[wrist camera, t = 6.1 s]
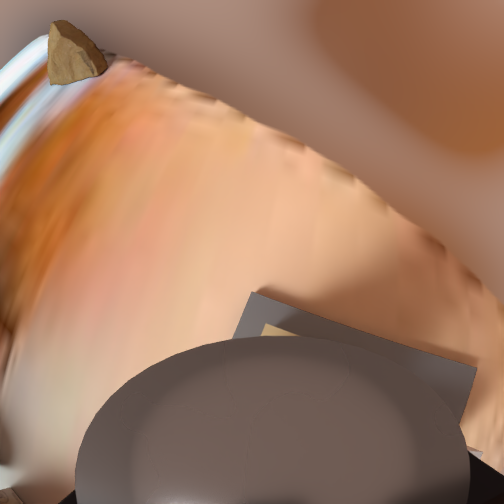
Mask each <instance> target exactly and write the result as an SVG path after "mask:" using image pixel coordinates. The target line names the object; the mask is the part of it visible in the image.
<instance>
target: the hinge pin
mask: <svg viewBox="0 0 504 504" xmlns="http://www.w3.org/2000/svg"><path fill="white" fill-rule="evenodd" d="M469 486H470V461H469V455H468V450H467V446H466V442H465V438H464V436H463V433H462V431H461V429H460V426H459V424H458V422H457V420H456V418H455V417H454V415H453V413H452V412H451V410H450V409H449V407H448V406H447V405H446V403H445V402H444V400H443V399H442V398H441V397H440V396H439V395H438V394H437V393H436V392H435V391H434V390H433V389H432V388H431V387H430V386H429V385H428V384H427V383H425V382H424V381H423V380H422V379H420V378H419V377H418V376H416V375H415V374H414V373H412V372H411V371H410V370H408V369H406V368H404V367H403V366H401V365H399V364H397V363H395V362H393V361H391V360H390V359H388V358H386V357H384V356H381V355H378V354H376V353H373V352H370V351H368V350H365V349H362V348H360V347H357V346H352V345H348V344H344V343H340V342H336V341H332V340H326V339H318V338H309V337H301V336H257V337H247V338H236V339H230V340H225V341H221V342H216V343H211V344H206V345H202V346H199V347H196V348H193V349H190V350H187V351H184V352H181V353H178V354H175V355H173V356H171V357H169V358H167V359H165V360H163V361H161V362H159V363H156V364H154V365H152V366H150V367H149V368H147V369H145V370H144V371H142V372H141V373H139V374H138V375H136V376H135V377H133V378H132V379H130V380H129V381H127V382H126V383H125V384H124V385H123V386H122V387H121V388H120V389H118V390H117V391H116V392H115V393H114V394H113V395H112V396H111V397H110V398H109V399H108V400H107V401H106V403H105V404H104V405H103V406H102V407H101V409H100V410H99V411H98V412H97V414H96V415H95V417H94V419H93V420H92V422H91V424H90V425H89V427H88V429H87V431H86V433H85V435H84V438H83V441H82V443H81V446H80V449H79V453H78V458H77V463H76V469H75V491H76V498H77V504H466V503H467V499H468V494H469Z"/></svg>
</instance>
